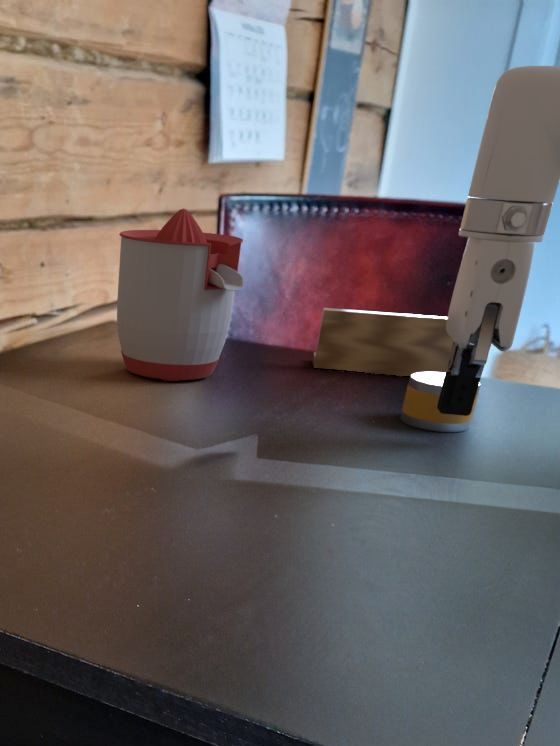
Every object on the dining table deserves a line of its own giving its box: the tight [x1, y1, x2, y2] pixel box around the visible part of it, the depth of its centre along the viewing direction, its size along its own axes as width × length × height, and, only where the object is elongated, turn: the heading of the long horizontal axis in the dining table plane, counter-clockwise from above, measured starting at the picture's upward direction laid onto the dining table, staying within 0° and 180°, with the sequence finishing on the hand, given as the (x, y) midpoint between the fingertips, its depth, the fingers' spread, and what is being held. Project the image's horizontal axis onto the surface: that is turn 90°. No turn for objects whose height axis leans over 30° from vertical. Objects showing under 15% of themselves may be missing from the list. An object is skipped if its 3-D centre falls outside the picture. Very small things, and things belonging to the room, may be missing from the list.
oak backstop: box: [312, 307, 453, 377], centre depth 121 cm, size 18×6×8 cm, turn 79°
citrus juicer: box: [116, 208, 244, 382], centre depth 111 cm, size 16×17×20 cm
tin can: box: [400, 372, 482, 433], centre depth 98 cm, size 8×8×5 cm
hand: (453, 412), depth 91 cm, fingers closed
